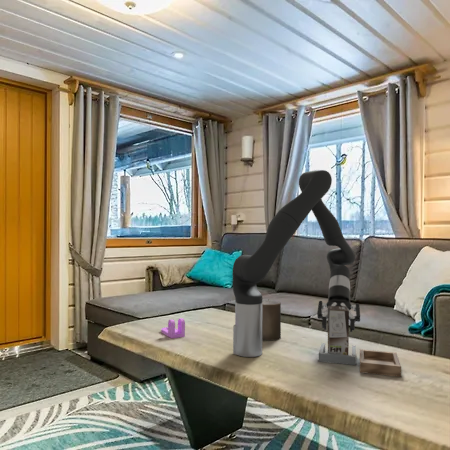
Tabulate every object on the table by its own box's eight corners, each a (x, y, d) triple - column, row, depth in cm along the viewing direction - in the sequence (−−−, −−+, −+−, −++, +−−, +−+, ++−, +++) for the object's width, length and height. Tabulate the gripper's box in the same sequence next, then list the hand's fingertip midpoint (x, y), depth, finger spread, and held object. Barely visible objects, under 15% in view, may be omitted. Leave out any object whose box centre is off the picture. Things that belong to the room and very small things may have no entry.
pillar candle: (285, 339, 156) (285, 300, 156) (264, 341, 152) (264, 301, 152) (272, 333, 165) (272, 296, 165) (251, 335, 160) (251, 298, 161)
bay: (318, 361, 129) (318, 353, 129) (321, 349, 142) (321, 342, 142) (355, 365, 126) (355, 357, 126) (355, 353, 138) (355, 345, 138)
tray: (360, 372, 119) (360, 362, 119) (359, 358, 133) (359, 349, 133) (401, 376, 116) (401, 366, 116) (396, 361, 129) (396, 352, 129)
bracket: (184, 337, 158) (185, 319, 158) (171, 338, 155) (171, 320, 156) (171, 329, 169) (172, 313, 170) (159, 331, 167) (159, 314, 167)
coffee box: (349, 361, 130) (349, 310, 130) (328, 359, 131) (328, 309, 131) (346, 352, 139) (346, 305, 139) (327, 351, 140) (327, 305, 140)
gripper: (318, 283, 146) (315, 321, 135) (360, 285, 142) (360, 325, 131) (319, 295, 151) (317, 333, 140) (359, 298, 147) (360, 337, 136)
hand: (338, 329), depth 136 cm, fingers open, 8 cm apart
